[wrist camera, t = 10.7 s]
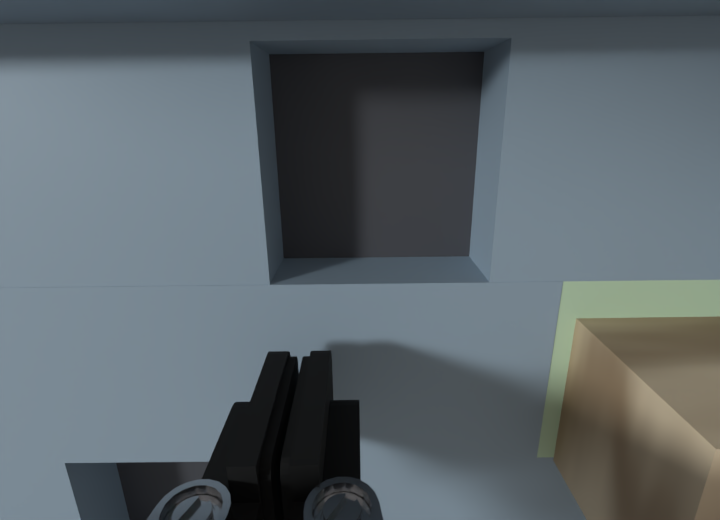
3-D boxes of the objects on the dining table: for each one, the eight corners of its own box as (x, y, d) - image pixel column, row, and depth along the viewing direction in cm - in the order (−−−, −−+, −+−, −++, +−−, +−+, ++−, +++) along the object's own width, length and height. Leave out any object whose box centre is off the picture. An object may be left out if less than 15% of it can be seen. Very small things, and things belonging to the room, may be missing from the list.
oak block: (576, 318, 12) (716, 449, 7) (754, 315, 12) (1009, 445, 7) (553, 460, 14) (655, 643, 9) (710, 458, 14) (896, 640, 9)
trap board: (-348, 22, 12) (-816, -40, 7) (811, 8, 12) (1113, -62, 7) (-95, 551, 18) (-254, 704, 14) (659, 543, 18) (764, 694, 13)
